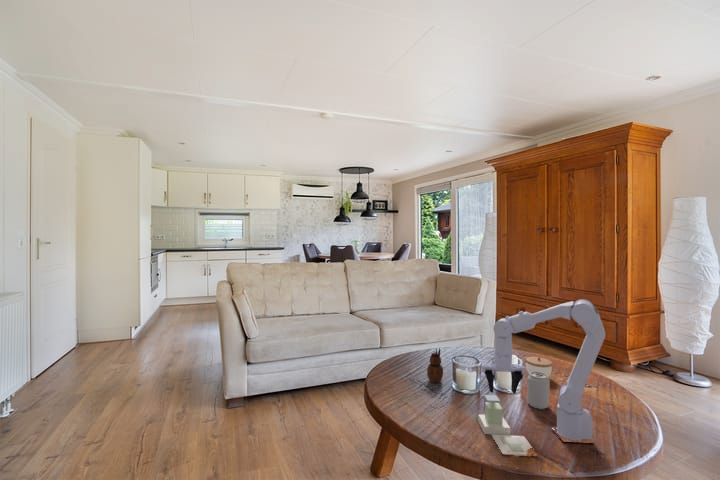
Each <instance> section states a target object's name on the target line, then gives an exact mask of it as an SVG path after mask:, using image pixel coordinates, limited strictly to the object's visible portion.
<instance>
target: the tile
mask: <svg viewBox="0 0 720 480" xmlns="http://www.w3.org/2000/svg"><path fill="white" fill-rule="evenodd" d="M491 437H492V439H493V441H494V440H495V441H494V443H495V442H496V443H495V444H497V445H498V447H499V448H498V447H497V448H498V450H499V449H500V450H501V452H502V454H513V455H526V454H527V452H528V451H527V450H528V449H530V448H533V446H532V445H531V444H530V442H529V441H528V439H527V438H526V437H525V436H524V435H511V434H510V435H491ZM497 445H496V446H497ZM500 450H499V451H500ZM508 451H509V452H508ZM526 451H527V452H526ZM501 452H500V453H501ZM502 454H501V455H502Z"/></svg>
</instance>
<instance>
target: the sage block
mask: <svg viewBox="0 0 720 480" xmlns="http://www.w3.org/2000/svg"><path fill="white" fill-rule="evenodd" d="M502 407H503V406H501V403H500V404H499V403H492V402H485V409H484V415H485V418H486V420H487V422H488V424H503V418H504V409H503V408H502Z"/></svg>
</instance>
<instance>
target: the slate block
mask: <svg viewBox="0 0 720 480" xmlns="http://www.w3.org/2000/svg"><path fill="white" fill-rule="evenodd" d="M485 402H492V403H499V404H500V405H501V400H500V398H499V397H498V395H497V394H496V395H495V394H483V409H484V410H485Z"/></svg>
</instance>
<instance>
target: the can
mask: <svg viewBox="0 0 720 480" xmlns="http://www.w3.org/2000/svg"><path fill="white" fill-rule="evenodd" d="M550 382H551V381H550V379H549V377H548V376H547V375H546V374H544V373H541V372H530V374H528V376H527V387H526V389H527V391H526V392H527V394H526V395H527V399H526V401H527V403H528V404H529V406H530V407H532V408H534V409H537V408H538V409H537V410H545V408H546V409H547V408H549V407H550V391H551V389H550V385H551V384H550Z"/></svg>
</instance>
